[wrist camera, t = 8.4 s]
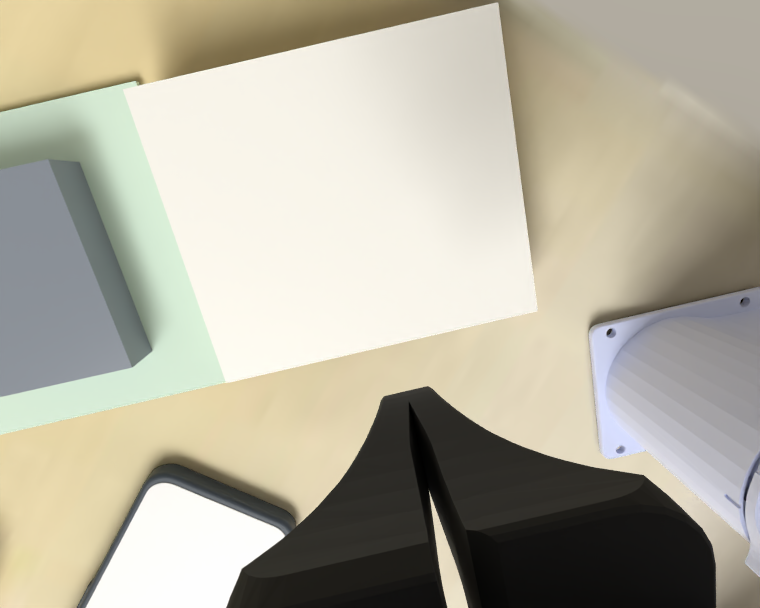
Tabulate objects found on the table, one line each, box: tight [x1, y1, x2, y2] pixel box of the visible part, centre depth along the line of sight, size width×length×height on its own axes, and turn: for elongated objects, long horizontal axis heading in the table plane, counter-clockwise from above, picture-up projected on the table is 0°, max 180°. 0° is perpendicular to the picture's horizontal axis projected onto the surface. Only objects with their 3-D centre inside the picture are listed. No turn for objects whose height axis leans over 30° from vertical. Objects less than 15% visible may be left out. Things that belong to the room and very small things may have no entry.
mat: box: [0, 81, 226, 435], centre depth 20 cm, size 16×14×1 cm
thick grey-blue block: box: [0, 159, 152, 397], centre depth 19 cm, size 6×9×2 cm, turn 12°
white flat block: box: [123, 2, 538, 383], centre depth 19 cm, size 14×12×3 cm
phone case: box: [77, 464, 296, 608], centre depth 25 cm, size 9×2×16 cm
